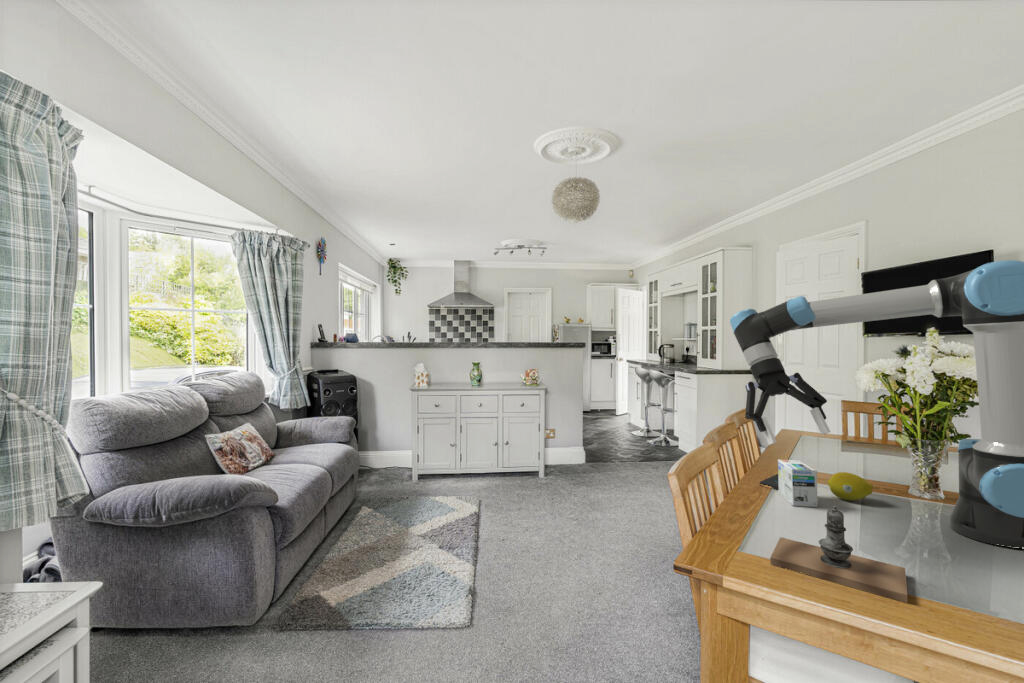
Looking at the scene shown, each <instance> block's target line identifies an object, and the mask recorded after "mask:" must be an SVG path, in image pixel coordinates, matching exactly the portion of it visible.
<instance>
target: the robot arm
mask: <svg viewBox="0 0 1024 683" xmlns="http://www.w3.org/2000/svg"><path fill="white" fill-rule="evenodd" d="M927 315H932V316H934V317H937V318H944V317H946V318H947V317H962V326H963V327H964V328H966V329H967V330H969V331H970V332H971V333H972V334H973V345H974V357H975V358H974V359H975V369H976V382H977V383H976V384H977V395H978V407H979V408H978V409H979V410H978V411H979V421H980V422H979V423H980V434H981V435H980V436H981V438H962V439H960V440H959V442H958V448H957V453H958V498H957V501H956V502H955V504H954V507H953V509H952V511H951V513H950V515H949V525H948V526H949V528H950V529H951V528H952V529H951V530H952V531H953V532H956V533H958V534H959V533H960V534H959V535H961V536H964V537H966V536H967V538H969V539H972V540H975V541H978V540H979V542H981V541H983V542H982V543H985V542H987V543H986V544H988V543H992V544H999V545H1004V546H1011V547H1019V548H1022V547H1024V261H1023V260H1016V259H1015V260H1013V259H1010V260H1009V259H1008V260H1007V259H1006V260H997V261H992V262H987V263H984V264H982V265H980V266H977V267H976V268H975V269H971V270H969V271H966V272H963V273H960V274H956V275H954V276H949V277H945V278H937V279H932V280H930V282H929V283H928V284H923V285H917V286H910V287H903V288H895V289H889V290H883V291H875V292H869V293H863V294H855V295H850V296H849V295H848V296H841V297H834V298H828V299H821V300H813V301H808V300H807V298H806V297H805V296H803V295H800V296H797V297H795V298H789V299H788V300H787V301H784V302H782V303H780V304H777V305H775V306H773V307H770V308H769V309H766V310H764V311H761V312H757V310H756V309H754V308H746V309H744V310H740V311H738V312H735V313H734V314H733V315H732V316H731V317H730V319H729V323H730V326H731V328H732V331H733V335H734V337H735V339H736V341H737V343H738V346H739V347H740V349H741V351H742V353H743V355H744V358H745V360H746V362H747V364H748V366H749V367H750V372H751V374H752V376H753V378H754V380H755V382H753V381H752V380H751V381H749V382H748V383H747V384H745V389H746V402H745V403H746V404H745V414H744V416H745V419H746V420H751V421H753V422H755V425H756V426H757V428H758V431H759V432H760V433H763V435H764V437H765V440H766V443H767V444H768V446H771V445H774V444H775V443H776V444H777V440H776V438H775V435H774V433H773V431H772V429H771V426H770V424H769V422H768V419H767V418H766V417H763V414H764V411H765V409H766V406H767V403H768V401H769V399H770V397H774V396H778V395H779V396H781V395H784V394H785V395H787V396H790V397H792V398H794V399H795V400H797V401H798V402H801V403H802V404H803V405H805V406H807V407H809V408H811V409H810V410H809V412H810V414H811V416H812V418H813V420H814V423H815V424H816V426H817V429H818V431H819V432H820V434H821V436H824V435H827V434H829V433H831V430H830V427H829V426H828V423H827V421H826V419H827V416H826V414H825V411H824V410H823V408H822V406H823V405H825V404H826V403H827V402H828V400H827V399H826V398H825V396H823V395H822V394H821V393H820V392H818V391H817V390H816V389H815V388H814V387H812V385H810V384H809V383H808V382H807V381H806V380H804V379H803V377H802V375H801V374H800V373H799V372H795V373H794V374H791V375H789V376H788V375H787V374H786V370H785V368H784V365H783V363H782V362H781V359H780V358H778V356H779V354H778V353H777V351H776V349H775V347H774V345H773V343H772V341H771V338H774V337H776V336H778V335H781V334H784V333H787V332H790V331H797V330H803V329H812V328H819V327H830V326H837V325H845V324H855V323H865V322H873V321H883V320H890V319H891V320H893V319H900V318H909V317H920V316H927ZM791 383H792V384H791ZM793 384H794V385H795V386H794V385H793ZM757 389H759V390H760V391H762V392H761V394H760V397H759V400H758V403H757V405H756V404H755V403H756V394H757V393H756V390H757ZM755 405H756V409H755ZM992 544H991V545H992Z"/></svg>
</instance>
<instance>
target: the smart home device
mask: <svg viewBox="0 0 1024 683" xmlns="http://www.w3.org/2000/svg"><path fill="white" fill-rule="evenodd" d="M760 484H763V485H768V486H771V487H772V488H773V489H772V490H775V491H778V490H779V481H778V473H776V474H774V475H772V476H770V477H767V478H765V479H763V480H761V481H760V482H759V485H760Z"/></svg>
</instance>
